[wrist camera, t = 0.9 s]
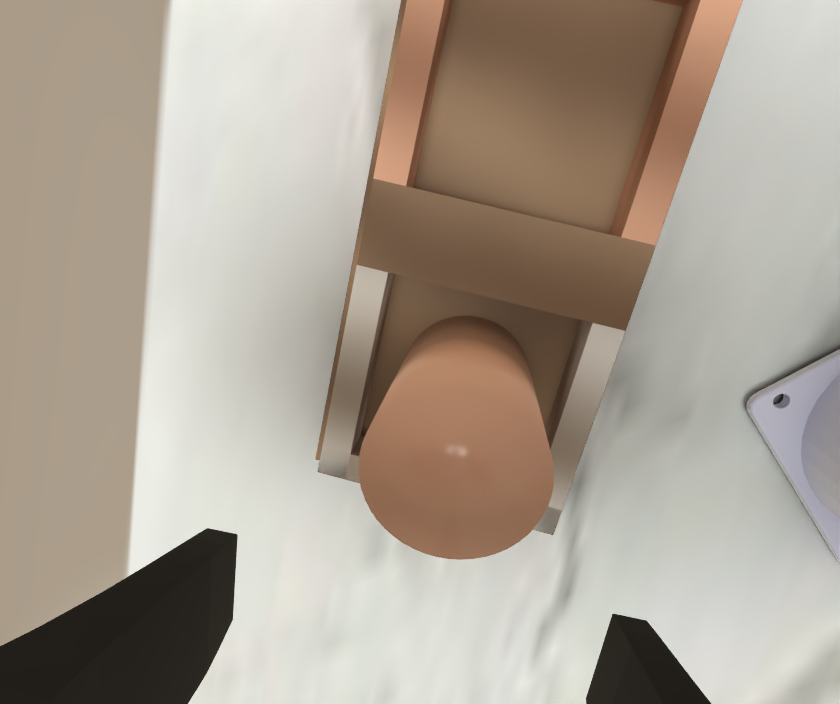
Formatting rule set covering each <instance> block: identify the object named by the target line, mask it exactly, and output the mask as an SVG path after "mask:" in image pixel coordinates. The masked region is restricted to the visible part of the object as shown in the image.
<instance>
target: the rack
mask: <svg viewBox="0 0 840 704" xmlns="http://www.w3.org/2000/svg"><path fill="white" fill-rule="evenodd" d="M742 1H743V0H401V5H400V10H399V15H398V21H397V26H396V31H395V37H394V42H393V47H392V53H391V58H390V63H389V69H388V74H387V80H386V85H385V90H384V96H383V101H382V106H381V112H380V117H379V122H378V128H377V133H376V138H375V144H374V149H373V154H372V160H371V165H370V171H369V176H368V181H367V187H366V192H365V197H364V203H363V208H362V213H361V219H360V224H359V229H358V235H357V240H356V246H355V251H354V256H353V262H352V267H351V272H350V278H349V283H348V288H347V294H346V299H345V304H344V310H343V315H342V320H341V326H340V331H339V337H338V342H337V347H336V353H335V358H334V363H333V369H332V374H331V379H330V385H329V390H328V395H327V401H326V406H325V411H324V417H323V422H322V428H321V433H320V438H319V444H318V449H317V454H316V460H320V461H319V467H318V472H320V473H324V474H327V475H331V476H335V477H338V478H342V479H346V480H350V481H353V482H357V483H360V479H359V467H358V466H359V455H360V450H361V446H362V443H363V440H364V437H365V435H366V433H367V431H368V429H369V427H370V425H371V423H372V421H373V419H374V417H375V415H376V413H377V411H378V409H379V407H380V405H381V403H382V402H383V400H384V398H385V396H386V394H387V392H388V390H389V388H390V386H391V384H392V382H393V380H394V378H395V376H396V374H397V372H398V370H399V369H400V367H401V365H402V363H403V361H404V359H405V357H406V355H407V353H408V351H409V349H410V347H411V346H412V344H413V342H414V341H415V340H416V338H417V337H418V336H419V335H420V334H421V333H422V332H423V331H424V330H425V329H427V328H428V327H429V326H431V325H433V324H434V323H436V322H438V321H441V320H443V319H446V318H450V317H455V316H476V317H481V318H485V319H488V320H490V321H493V322H495V323H497V324H499V325H500V326H502V327H503V328H505V329H506V330H507V331H509V332H510V333H511V334H512V335H513V336H514V337H515V339H516V340H517V341H518V343H519V344H520V346H521V347H522V349H523V351H524V353H525V356H526V358H527V362H528V366H529V370H530V374H531V378H532V381H533V385H534V389H535V393H536V397H537V401H538V405H539V408H540V412H541V416H542V420H543V424H544V428H545V432H546V435H547V439H548V443H549V447H550V451H551V455H552V459H553V465H554V487H553V492H552V497H551V499H550V502H549V505H548V508H547V509H546V511H545V513H544V515H543V517H542V518H541V520H540V521H539V522H538V524H537V525H536V527H535V528H534V529H533V530H536V531H540V532H544V533H548V534H551V535H553V534H554V531H555V528H556V525H557V523H558V520H559V517H560V514H561V511H562V509H563V506H564V503H565V500H566V497H567V494H568V492H569V489H570V486H571V483H572V480H573V478H574V475H575V472H576V469H577V466H578V463H579V461H580V458H581V455H582V452H583V449H584V447H585V444H586V441H587V438H588V435H589V432H590V430H591V427H592V424H593V421H594V418H595V415H596V413H597V410H598V407H599V404H600V401H601V399H602V396H603V393H604V390H605V387H606V384H607V382H608V379H609V376H610V373H611V370H612V368H613V365H614V362H615V359H616V356H617V353H618V351H619V348H620V345H621V342H622V339H623V337H624V334H625V331H626V328H627V325H628V322H629V320H630V317H631V314H632V311H633V308H634V306H635V303H636V300H637V297H638V294H639V291H640V289H641V286H642V283H643V280H644V277H645V275H646V272H647V269H648V266H649V263H650V260H651V258H652V255H653V252H654V249H655V246H656V244H657V241H658V238H659V235H660V232H661V229H662V227H663V224H664V221H665V218H666V215H667V213H668V210H669V207H670V204H671V201H672V198H673V196H674V193H675V190H676V187H677V184H678V182H679V179H680V176H681V173H682V170H683V167H684V165H685V162H686V159H687V156H688V153H689V151H690V148H691V145H692V142H693V139H694V136H695V134H696V131H697V128H698V125H699V122H700V120H701V117H702V114H703V111H704V108H705V105H706V103H707V100H708V97H709V94H710V91H711V89H712V86H713V83H714V80H715V77H716V74H717V72H718V69H719V66H720V63H721V60H722V58H723V55H724V52H725V49H726V46H727V43H728V41H729V38H730V35H731V32H732V29H733V27H734V24H735V21H736V18H737V15H738V12H739V10H740V7H741V4H742Z"/></svg>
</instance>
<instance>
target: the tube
mask: <svg viewBox="0 0 840 704" xmlns="http://www.w3.org/2000/svg"><path fill="white" fill-rule="evenodd" d="M358 467H359V479H360V484H361V489H362V492H363V495H364V497H365V500H366V502H367V504H368V506H369V508H370V510H371V511H372V513H373V514H374V516H375V517H376V519H377V520H378V521H379V522H380V523H381V525H382V526H383V527H384V528H385V529H386V530H387V531H388V532H390V533H391V534H392V535H393V536H394V537H396V538H397V539H398V540H400V541H401V542H403V543H404V544H406V545H408V546H410V547H412V548H413V549H416V550H418V551H421V552H423V553H426V554H429V555H433V556H436V557H442V558H447V559H474V558H480V557H486V556H489V555H492V554H496V553H498V552H501V551H503V550H505V549H508V548H509V547H511V546H513V545H514V544H516V543H518V542H519V541H520V540H522V539H523V538H524V537H525V536H527V535H528V534H529V533H530V532H531V531H532V530H533V529H534V528H535V527H536V525H537V524H538V522H539V521H540V520H541V518H542V517H543V515H544V513H545V511H546V509H547V508H548V505H549V502H550V499H551V497H552V492H553V487H554V465H553V459H552V455H551V451H550V447H549V443H548V439H547V435H546V432H545V428H544V424H543V420H542V416H541V412H540V408H539V405H538V401H537V397H536V393H535V389H534V385H533V381H532V378H531V374H530V370H529V366H528V362H527V358H526V356H525V353H524V351H523V349H522V347H521V346H520V344H519V343H518V341H517V340H516V339H515V337H514V336H513V335H512V334H511V333H510V332H509V331H507V330H506V329H505V328H503V327H502V326H500V325H499V324H497V323H495V322H493V321H490V320H488V319H485V318H481V317H476V316H455V317H450V318H446V319H443V320H441V321H438V322H436V323H434V324H433V325H431V326H429V327H428V328H427V329H425V330H424V331H423V332H422V333H421V334H420V335H419V336H418V337H417V338H416V340H415V341H414V342H413V344H412V346H411V347H410V349H409V351H408V353H407V355H406V357H405V359H404V361H403V363H402V365H401V367H400V369H399V370H398V372H397V374H396V376H395V378H394V380H393V382H392V384H391V386H390V388H389V390H388V392H387V394H386V396H385V398H384V400H383V402H382V403H381V405H380V407H379V409H378V411H377V413H376V415H375V417H374V419H373V421H372V423H371V425H370V427H369V429H368V431H367V433H366V435H365V437H364V440H363V443H362V446H361V450H360V455H359V466H358Z"/></svg>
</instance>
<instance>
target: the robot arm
mask: <svg viewBox="0 0 840 704" xmlns="http://www.w3.org/2000/svg"><path fill="white" fill-rule="evenodd" d="M779 394H783V395H784V398H783V400H782V401H781V402H780V403H778V404H773V400H774V398H775V397H776V396H777V395H779ZM746 408H747V411H748V413H749V415H750V417H751V418H752V420H753V422H754V423H755V425H756V427H757V428H758V430H759V432H760V433H761V435H762V437H763V438H764V440H765V442H766V443H767V445H768V447H769V448H770V450H771V452H772V453H773V455H774V457H775V458H776V460H777V462H778V463H779V465H780V467H781V468H782V470H783V472H784V473H785V475H786V476H787V478H788V480H789V481H790V483H791V485H792V486H793V488H794V490H795V491H796V493H797V495H798V496H799V498H800V500H801V501H802V503H803V505H804V506H805V508H806V510H807V511H808V513H809V515H810V516H811V518H812V520H813V521H814V523H815V525H816V526H817V528H818V530H819V531H820V533H821V535H822V536H823V538H824V540H825V541H826V543H827V545H828V546H829V548H830V550H831V551H832V553H833V555H834V556H835V558H836V560H837V561H838V563H839V564H840V349H839V350H837V351H835V352H833V353H831V354H829V355H827V356H825V357H823V358H822V359H820V360H818V361H816V362H814V363H812V364H810V365H808V366H806V367H804V368H802V369H801V370H799V371H797V372H795V373H793V374H791V375H789V376H787V377H785V378H783V379H781V380H779V381H778V382H776V383H774V384H772V385H770V386H768V387H766V388H764V389H762V390H760V391H758V392H757V393H755V394H753V395H752V396H751V397H750V398H749V400H748V401H747V405H746ZM236 551H237V534H233V533H228V532H223V531H218V530H214V529H209V528H207V529H206V530H204V531H202V532H200V533H199V534H197V535H195V536H194V537H192V538H190V539H189V540H187V541H186V542H184V543H182V544H181V545H179V546H178V547H176V548H174V549H173V550H171V551H170V552H168V553H166V554H165V555H163V556H161V557H160V558H158V559H157V560H155V561H153V562H152V563H150V564H149V565H147V566H145V567H144V568H142V569H140V570H139V571H137V572H135V573H134V574H132V575H130V576H129V577H127V578H125V579H124V580H122V581H120V582H119V583H117V584H115V585H114V586H112V587H110V588H109V589H107V590H105V591H104V592H102V593H100V594H98V595H96V596H95V597H93V598H91V599H89V600H87V601H85V602H84V603H82V604H80V605H78V606H77V607H74V608H73V609H71V610H69V611H67V612H65V613H64V614H62V615H60V616H58V617H56V618H55V619H53V620H51V621H49V622H47V623H45V624H44V625H42V626H40V627H38V628H36V629H34V630H32V631H30V632H29V633H26V634H24V635H22V636H20V637H18V638H16V639H14V640H12V641H10V642H8V643H6V644H4V645H2V646H0V704H188V703H189V701H190V699H191V698H192V696H193V694H194V693H195V691H196V690H197V688H198V686H199V685H200V683H201V682H202V680H203V678H204V677H205V675H206V673H207V671H208V669H209V667H210V665H211V663H212V661H213V659H214V657H215V655H216V653H217V651H218V649H219V647H220V645H221V643H222V641H223V639H224V637H225V635H226V633H227V630H228V628H229V626H230V624H231V622H232V620H233V605H234V587H235V569H236ZM586 703H587V704H711V703H710V702H709V700H708V699H707V698H706V696H705V695H704V694H703V693H702V691H701V690H700V689H699V688H698V686H697V685H696V684H695V682H694V681H693V680H692V678H691V677H690V676H689V675H688V673H687V672H686V671H685V669H684V668H683V667H682V666H681V664H680V663H679V662H678V660H677V659H676V658H675V656H674V655H673V654H672V653H671V651H670V650H669V649H668V647H667V646H666V645H665V643H664V642H663V641H662V640H661V638H660V637H659V636H658V634H657V633H656V632H655V631H654V629H653V628H652V627H651V626H650V624H649V623H648V622H647V621H645V620H641V619H636V618H631V617H626V616H622V615H617V614H612V618H611V621H610V624H609V627H608V630H607V634H606V637H605V640H604V643H603V646H602V649H601V653H600V656H599V659H598V662H597V665H596V669H595V672H594V675H593V678H592V681H591V685H590V688H589V691H588V694H587V697H586Z"/></svg>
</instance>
